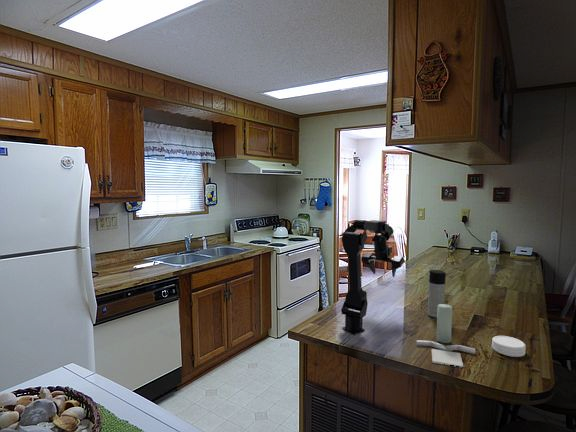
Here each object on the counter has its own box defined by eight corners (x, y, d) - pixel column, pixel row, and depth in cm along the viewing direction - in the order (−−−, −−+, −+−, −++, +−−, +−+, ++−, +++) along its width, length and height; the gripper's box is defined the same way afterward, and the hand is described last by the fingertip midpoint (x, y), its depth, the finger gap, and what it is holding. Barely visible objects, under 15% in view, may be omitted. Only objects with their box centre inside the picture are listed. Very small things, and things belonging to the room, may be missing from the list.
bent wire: (416, 347, 125) (416, 342, 125) (416, 342, 128) (416, 338, 128) (475, 356, 118) (476, 351, 118) (474, 351, 122) (474, 346, 122)
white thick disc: (520, 346, 126) (520, 337, 125) (529, 359, 116) (530, 349, 116) (488, 342, 129) (489, 333, 129) (495, 355, 120) (495, 345, 119)
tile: (432, 362, 114) (432, 360, 114) (431, 350, 122) (431, 348, 122) (463, 367, 111) (463, 365, 111) (459, 354, 119) (460, 353, 119)
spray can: (439, 312, 159) (441, 269, 157) (446, 318, 152) (448, 273, 150) (425, 312, 159) (426, 269, 157) (431, 318, 152) (433, 273, 150)
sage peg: (445, 344, 127) (447, 309, 126) (433, 339, 131) (434, 305, 130) (453, 341, 130) (455, 307, 129) (441, 336, 134) (442, 303, 133)
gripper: (406, 239, 159) (409, 269, 164) (368, 236, 170) (371, 263, 175) (398, 251, 151) (401, 281, 156) (358, 247, 162) (362, 275, 167)
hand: (384, 275), depth 164 cm, fingers open, 9 cm apart
